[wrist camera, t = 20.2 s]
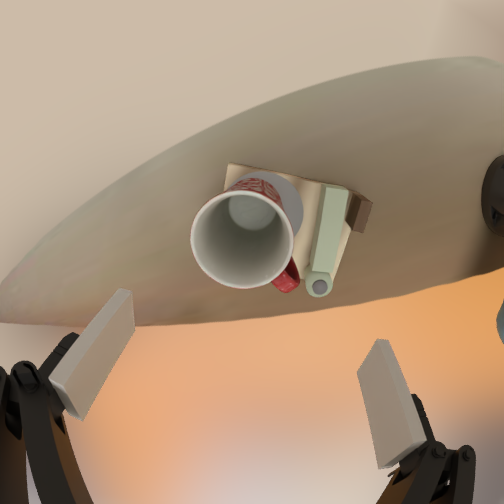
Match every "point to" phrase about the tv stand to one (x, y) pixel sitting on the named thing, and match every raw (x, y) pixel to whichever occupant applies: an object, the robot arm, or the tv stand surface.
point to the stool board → (312, 214)
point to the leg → (326, 239)
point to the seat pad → (282, 196)
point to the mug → (245, 238)
